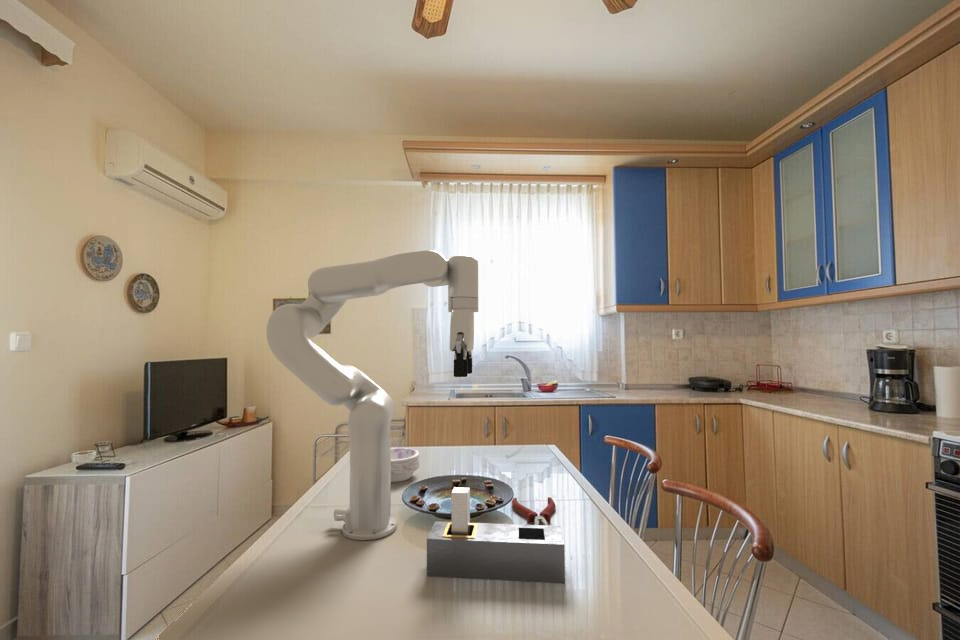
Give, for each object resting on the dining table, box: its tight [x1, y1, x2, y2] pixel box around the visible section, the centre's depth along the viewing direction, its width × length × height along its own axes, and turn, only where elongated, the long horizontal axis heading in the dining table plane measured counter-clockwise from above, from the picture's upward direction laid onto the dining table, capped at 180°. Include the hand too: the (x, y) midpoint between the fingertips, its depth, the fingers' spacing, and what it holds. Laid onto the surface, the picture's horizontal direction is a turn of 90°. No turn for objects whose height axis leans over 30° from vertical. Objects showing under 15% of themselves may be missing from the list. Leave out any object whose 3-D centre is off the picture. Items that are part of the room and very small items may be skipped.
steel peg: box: [451, 486, 471, 536], centre depth 86 cm, size 3×3×13 cm
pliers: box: [511, 497, 556, 526], centre depth 109 cm, size 12×20×3 cm, turn 1°
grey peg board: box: [426, 520, 566, 584], centre depth 85 cm, size 26×8×7 cm, turn 84°
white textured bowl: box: [391, 447, 421, 483], centre depth 141 cm, size 15×15×8 cm
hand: (463, 375), depth 106 cm, fingers open, 9 cm apart
